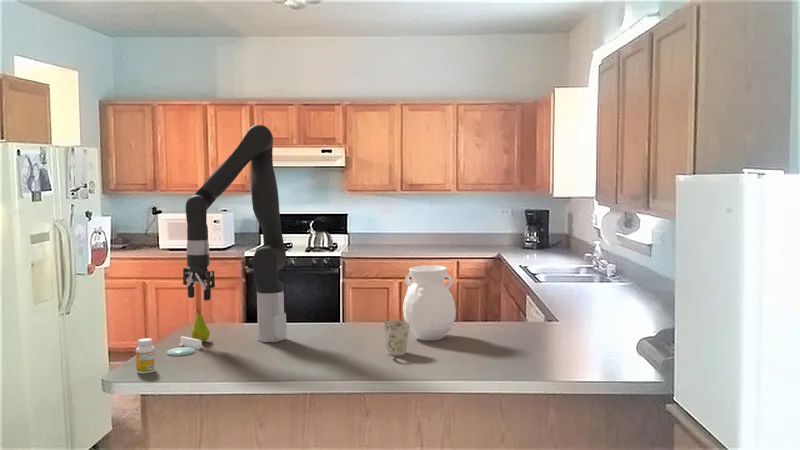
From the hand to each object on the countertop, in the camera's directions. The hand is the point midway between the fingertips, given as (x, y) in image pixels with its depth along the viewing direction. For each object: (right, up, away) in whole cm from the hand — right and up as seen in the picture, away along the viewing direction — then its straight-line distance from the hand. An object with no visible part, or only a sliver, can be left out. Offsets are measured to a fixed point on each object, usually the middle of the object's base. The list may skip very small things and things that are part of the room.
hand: (199, 298), depth 263 cm
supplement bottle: (-7, -19, -35) cm, 40 cm away
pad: (-2, -17, -13) cm, 21 cm away
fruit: (0, -16, +1) cm, 16 cm away
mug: (+68, -16, -20) cm, 73 cm away
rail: (-1, -16, -6) cm, 17 cm away
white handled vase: (+80, -14, +4) cm, 82 cm away
